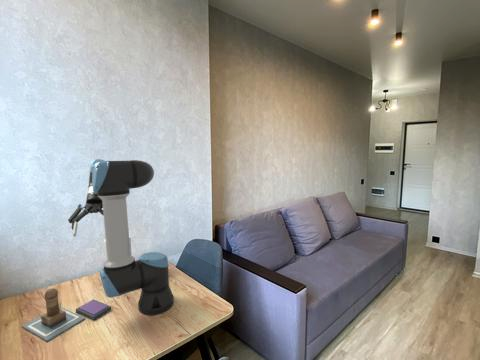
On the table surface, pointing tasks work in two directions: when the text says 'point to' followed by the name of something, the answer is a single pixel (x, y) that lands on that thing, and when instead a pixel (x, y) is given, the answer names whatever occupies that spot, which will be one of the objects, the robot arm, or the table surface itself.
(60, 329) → the form board
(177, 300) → the table surface
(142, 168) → the robot arm
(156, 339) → the table surface
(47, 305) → the stamp
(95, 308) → the ink pad
